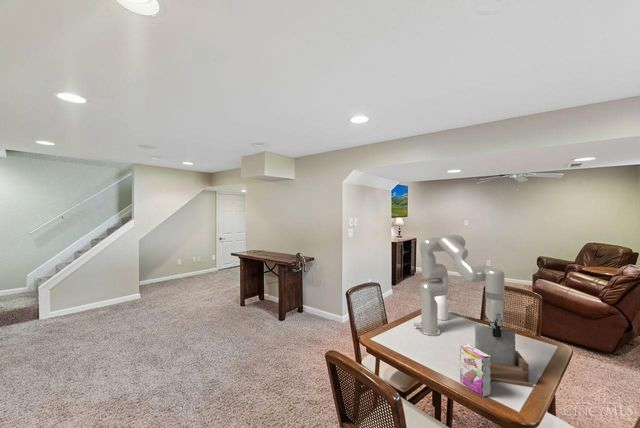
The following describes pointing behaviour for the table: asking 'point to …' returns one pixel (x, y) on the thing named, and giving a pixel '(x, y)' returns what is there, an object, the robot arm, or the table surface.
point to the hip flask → (496, 344)
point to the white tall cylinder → (442, 307)
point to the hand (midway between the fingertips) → (494, 334)
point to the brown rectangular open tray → (512, 372)
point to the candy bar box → (475, 370)
